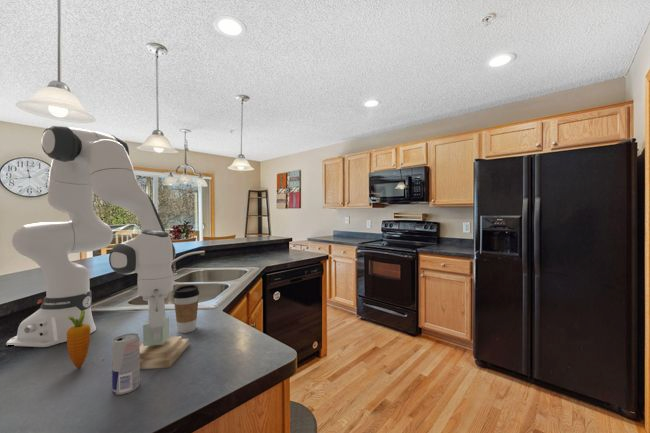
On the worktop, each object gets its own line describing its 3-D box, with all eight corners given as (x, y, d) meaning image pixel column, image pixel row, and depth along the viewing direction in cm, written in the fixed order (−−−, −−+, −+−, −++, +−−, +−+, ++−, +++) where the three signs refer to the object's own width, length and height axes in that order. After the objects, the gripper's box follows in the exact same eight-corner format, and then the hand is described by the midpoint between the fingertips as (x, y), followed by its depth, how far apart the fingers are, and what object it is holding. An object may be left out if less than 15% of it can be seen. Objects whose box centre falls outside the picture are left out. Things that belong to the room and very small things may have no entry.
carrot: (70, 374, 72) (69, 316, 72) (63, 369, 74) (63, 313, 74) (94, 366, 76) (93, 311, 76) (87, 361, 79) (86, 308, 79)
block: (143, 346, 78) (143, 324, 78) (150, 338, 83) (150, 318, 83) (162, 344, 79) (162, 323, 79) (169, 336, 84) (168, 316, 84)
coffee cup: (204, 325, 104) (203, 284, 104) (191, 335, 95) (190, 291, 95) (183, 324, 104) (182, 284, 104) (168, 334, 96) (167, 290, 96)
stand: (118, 370, 74) (118, 357, 74) (145, 347, 87) (145, 335, 87) (169, 367, 75) (169, 354, 75) (189, 344, 88) (188, 333, 88)
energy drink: (121, 382, 68) (121, 333, 68) (144, 381, 69) (144, 332, 69) (106, 396, 63) (105, 343, 63) (131, 394, 64) (130, 342, 64)
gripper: (170, 293, 74) (171, 345, 74) (166, 278, 91) (166, 320, 91) (142, 296, 70) (142, 351, 70) (143, 280, 88) (143, 324, 88)
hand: (156, 333), depth 81 cm, fingers closed on block, 6 cm apart
